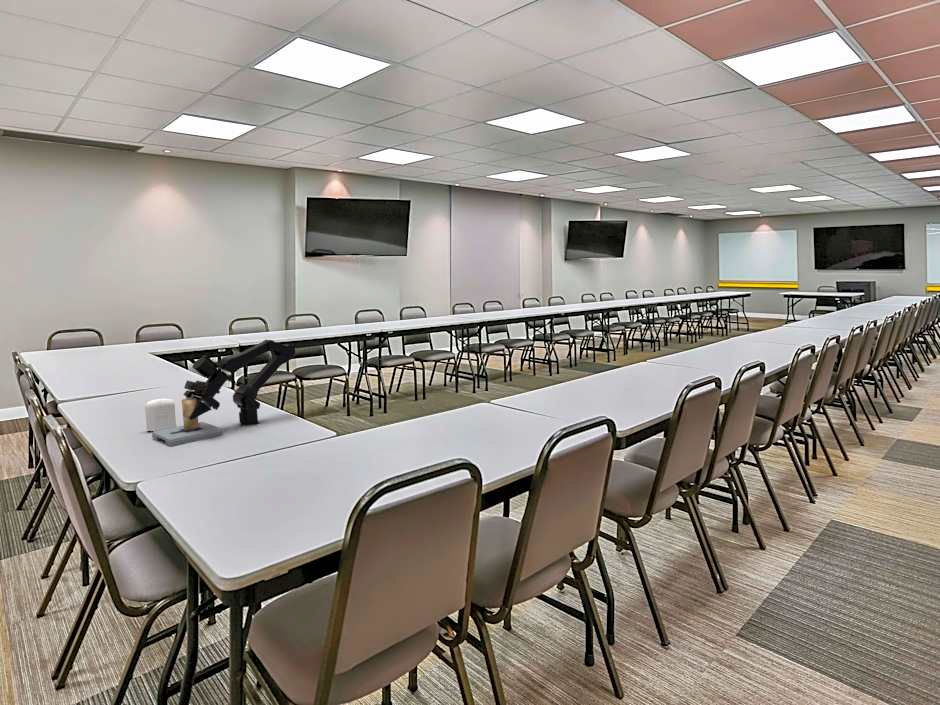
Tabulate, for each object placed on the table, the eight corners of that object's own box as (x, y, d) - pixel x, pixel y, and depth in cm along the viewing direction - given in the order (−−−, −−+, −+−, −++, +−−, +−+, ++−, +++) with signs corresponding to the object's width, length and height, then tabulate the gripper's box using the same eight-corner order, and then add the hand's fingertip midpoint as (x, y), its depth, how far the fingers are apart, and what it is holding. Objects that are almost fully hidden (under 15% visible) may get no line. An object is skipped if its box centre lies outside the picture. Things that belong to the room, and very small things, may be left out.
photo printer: (175, 426, 232) (173, 396, 230) (177, 428, 228) (174, 398, 227) (146, 430, 226) (143, 399, 225) (147, 433, 223) (144, 401, 221)
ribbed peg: (201, 433, 221) (199, 398, 219) (195, 437, 216) (191, 400, 214) (189, 433, 221) (186, 398, 219) (182, 437, 216) (178, 400, 214)
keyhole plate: (203, 427, 229) (202, 421, 229) (222, 434, 219) (222, 428, 219) (152, 438, 215) (151, 432, 215) (170, 446, 205) (169, 439, 205)
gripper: (186, 369, 224) (159, 402, 217) (209, 374, 212) (180, 409, 205) (208, 386, 231) (182, 418, 224) (231, 392, 219) (204, 426, 212)
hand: (186, 418), depth 216 cm, fingers closed on ribbed peg, 5 cm apart
